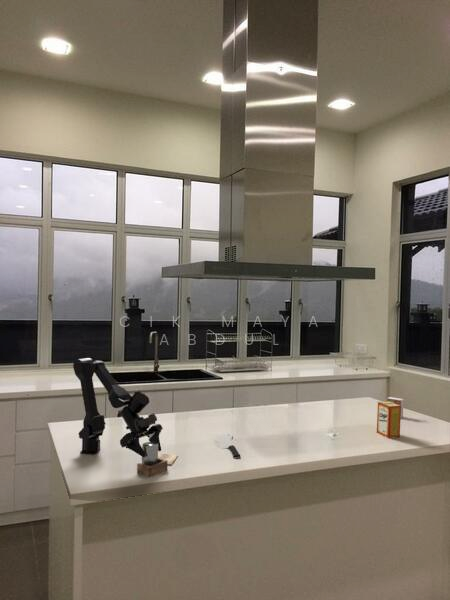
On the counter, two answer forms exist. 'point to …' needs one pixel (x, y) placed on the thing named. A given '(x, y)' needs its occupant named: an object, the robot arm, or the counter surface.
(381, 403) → the baking soda box
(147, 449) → the canister
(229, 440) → the kitchen cleaver
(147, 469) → the cubby
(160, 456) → the mat
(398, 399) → the small box
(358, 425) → the counter surface
